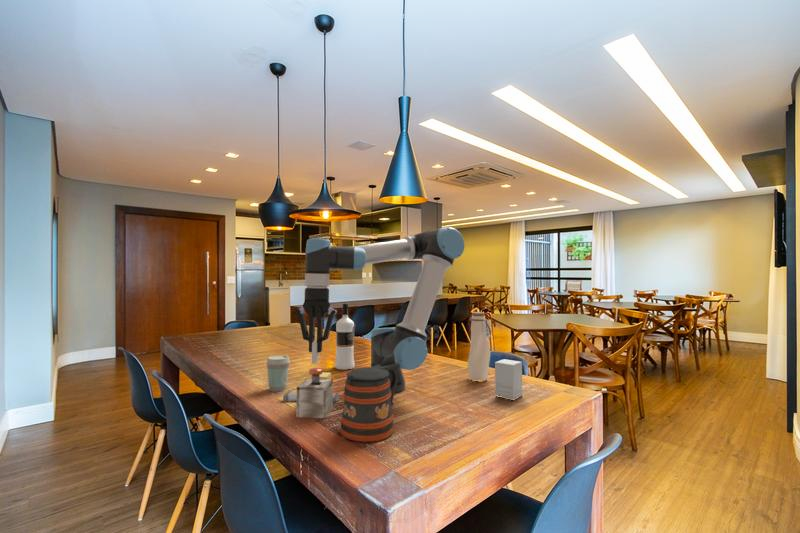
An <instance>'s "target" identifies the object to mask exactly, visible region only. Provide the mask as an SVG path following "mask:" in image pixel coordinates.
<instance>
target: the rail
mask: <svg viewBox="0 0 800 533" xmlns="http://www.w3.org/2000/svg"><path fill="white" fill-rule="evenodd" d="M339 399H340V392H336V393H333V404H337V403H338V401H339ZM282 402H283V403H286V402H297V392H295V391H294V392H292V391H287V392H285V394H284V395H283V396H282Z"/></svg>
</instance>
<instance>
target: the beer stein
mask: <svg viewBox="0 0 800 533" xmlns="http://www.w3.org/2000/svg"><path fill="white" fill-rule="evenodd" d="M396 368H400V364H399V363H395V356H394V354H390V355H388V356H386V357H385V358H384V359H383V361H382V363H381V364H379V365H375V366H374V367H371V366H367V367H366V366H365V367H358V368H354V369H353V370H352V369H351V371H349V372H347V374H346V375H347V376H346V380H345V381H344V391H343V398H344V400H343V409H342V413H341V417H340V418H341V420H340V429H339V431H340V434H341V435H342V437H343V438H344V439H347V440H348V441H352V442H359V443H372V442H374V443H375V442H379V441H384V440H386V439H388V438H389V437H390V436H391V435H392V434H393V433H394V414H393V411H392V407H393V405H394V402H393V400H394V397H395V394H396V393H395V391H396V388H397V382H398V376H397V371H396ZM388 371H390V372H391V373H392V382H391V384H390V379H389V377H388V376H389V372H388Z"/></svg>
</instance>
